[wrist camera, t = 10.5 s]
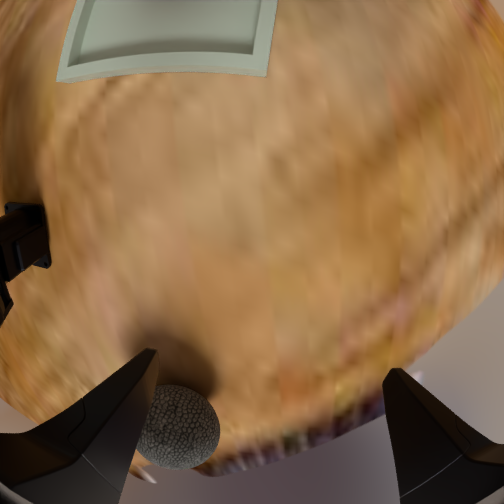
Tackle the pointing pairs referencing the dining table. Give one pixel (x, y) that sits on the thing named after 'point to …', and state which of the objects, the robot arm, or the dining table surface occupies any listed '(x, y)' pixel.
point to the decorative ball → (179, 429)
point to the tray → (167, 38)
